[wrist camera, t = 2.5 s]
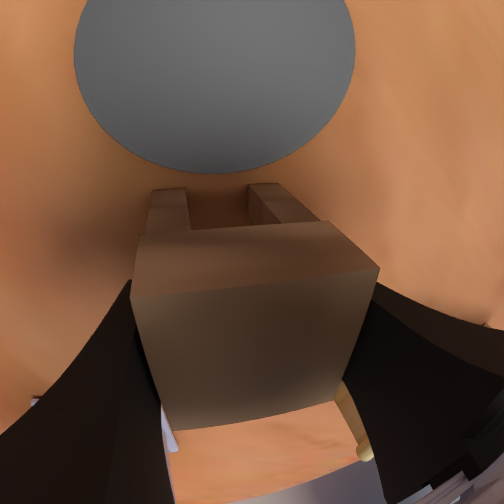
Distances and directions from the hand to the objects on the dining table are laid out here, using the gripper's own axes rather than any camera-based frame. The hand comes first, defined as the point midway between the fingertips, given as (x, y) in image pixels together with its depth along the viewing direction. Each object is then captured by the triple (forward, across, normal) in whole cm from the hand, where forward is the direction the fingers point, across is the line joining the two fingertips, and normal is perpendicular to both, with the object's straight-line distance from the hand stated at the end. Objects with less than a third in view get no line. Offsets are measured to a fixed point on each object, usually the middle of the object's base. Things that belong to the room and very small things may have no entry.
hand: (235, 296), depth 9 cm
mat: (+4, 0, -8) cm, 9 cm away
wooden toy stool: (+4, 0, 0) cm, 4 cm away
